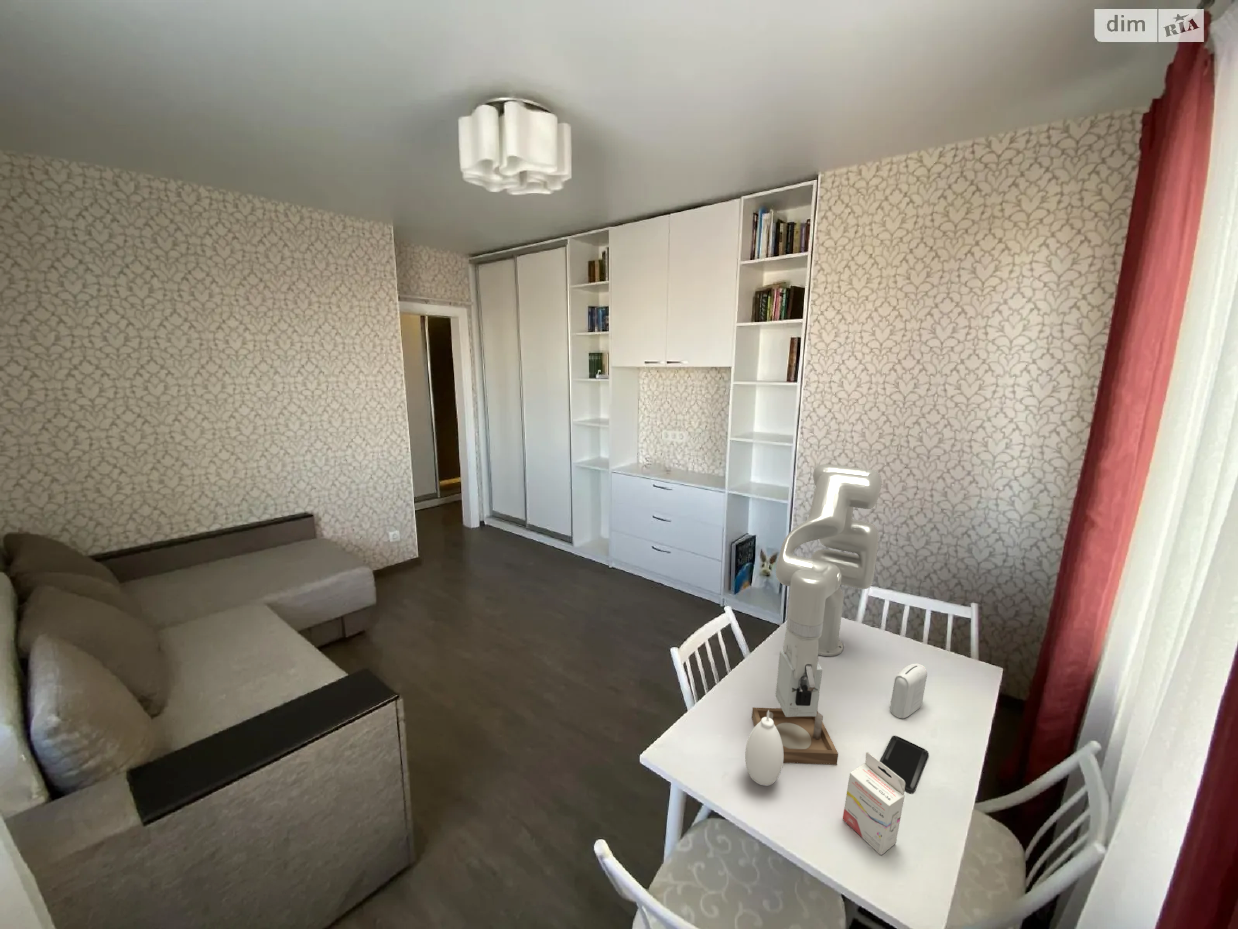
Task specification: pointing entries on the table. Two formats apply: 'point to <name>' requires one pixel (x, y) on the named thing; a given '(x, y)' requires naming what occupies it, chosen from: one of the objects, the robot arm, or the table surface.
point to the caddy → (801, 737)
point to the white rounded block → (908, 690)
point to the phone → (904, 761)
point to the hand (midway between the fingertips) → (796, 692)
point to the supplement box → (794, 690)
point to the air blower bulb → (764, 752)
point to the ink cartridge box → (874, 804)
